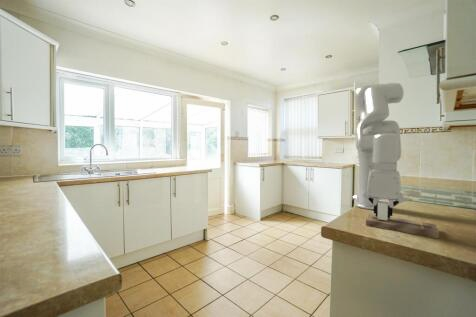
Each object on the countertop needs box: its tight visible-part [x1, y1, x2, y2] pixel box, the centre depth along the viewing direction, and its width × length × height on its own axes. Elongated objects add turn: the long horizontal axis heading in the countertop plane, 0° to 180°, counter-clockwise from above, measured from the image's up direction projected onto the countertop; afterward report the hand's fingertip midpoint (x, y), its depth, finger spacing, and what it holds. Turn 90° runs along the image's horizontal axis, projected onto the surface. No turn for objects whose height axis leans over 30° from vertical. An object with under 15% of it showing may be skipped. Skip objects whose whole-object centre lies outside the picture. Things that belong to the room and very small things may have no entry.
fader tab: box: [377, 199, 389, 220], centre depth 82 cm, size 3×5×6 cm, turn 143°
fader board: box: [365, 213, 440, 239], centre depth 79 cm, size 20×9×2 cm, turn 53°
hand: (382, 216), depth 82 cm, fingers closed on fader tab, 3 cm apart
